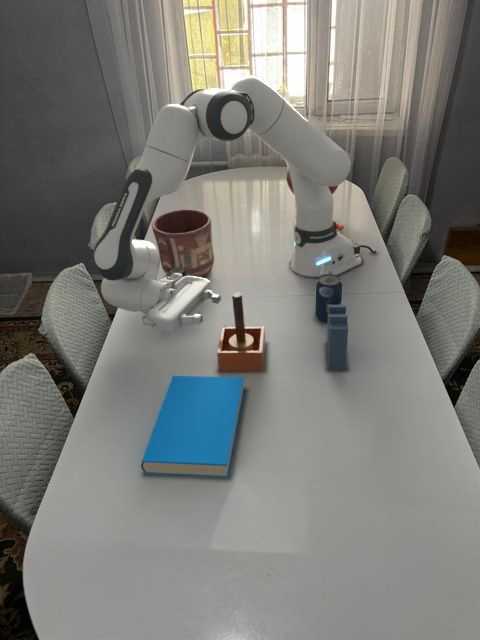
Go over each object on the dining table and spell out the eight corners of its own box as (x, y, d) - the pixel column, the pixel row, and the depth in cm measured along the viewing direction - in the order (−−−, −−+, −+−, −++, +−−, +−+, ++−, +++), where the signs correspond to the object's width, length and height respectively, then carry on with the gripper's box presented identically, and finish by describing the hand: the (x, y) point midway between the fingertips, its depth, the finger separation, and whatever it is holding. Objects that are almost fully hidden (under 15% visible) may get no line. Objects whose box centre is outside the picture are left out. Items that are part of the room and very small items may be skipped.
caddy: (219, 371, 123) (217, 353, 119) (224, 344, 131) (222, 326, 128) (263, 371, 122) (262, 352, 119) (265, 344, 130) (264, 326, 127)
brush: (238, 372, 126) (194, 328, 123) (248, 357, 130) (206, 315, 127) (277, 346, 116) (230, 297, 113) (287, 331, 120) (242, 284, 117)
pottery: (152, 286, 157) (140, 231, 146) (174, 259, 170) (165, 207, 159) (206, 291, 153) (198, 235, 142) (224, 263, 166) (219, 211, 155)
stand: (328, 370, 121) (330, 323, 113) (326, 344, 129) (328, 299, 121) (345, 370, 121) (348, 323, 113) (342, 344, 129) (345, 299, 121)
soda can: (330, 328, 135) (332, 289, 127) (309, 319, 138) (310, 280, 131) (345, 316, 139) (348, 278, 131) (325, 308, 142) (326, 270, 135)
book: (243, 376, 115) (228, 463, 95) (245, 391, 117) (230, 478, 97) (169, 375, 116) (138, 459, 96) (172, 389, 119) (142, 474, 99)
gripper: (134, 310, 116) (187, 321, 112) (179, 269, 131) (228, 277, 127) (139, 333, 120) (191, 344, 116) (183, 290, 135) (230, 299, 130)
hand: (210, 309), depth 121 cm, fingers open, 8 cm apart
